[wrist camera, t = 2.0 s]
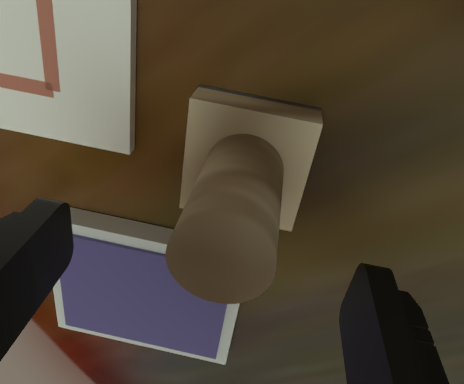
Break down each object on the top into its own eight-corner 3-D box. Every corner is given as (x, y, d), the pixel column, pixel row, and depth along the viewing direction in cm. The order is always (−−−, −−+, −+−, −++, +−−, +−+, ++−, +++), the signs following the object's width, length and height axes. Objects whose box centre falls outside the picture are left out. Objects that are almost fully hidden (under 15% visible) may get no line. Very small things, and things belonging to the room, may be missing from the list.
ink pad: (252, 246, 19) (248, 265, 18) (228, 347, 23) (224, 367, 22) (56, 204, 19) (40, 220, 18) (68, 310, 24) (56, 329, 23)
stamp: (320, 107, 15) (334, 210, 9) (292, 207, 18) (288, 340, 12) (200, 83, 15) (134, 168, 9) (189, 186, 18) (132, 305, 12)
